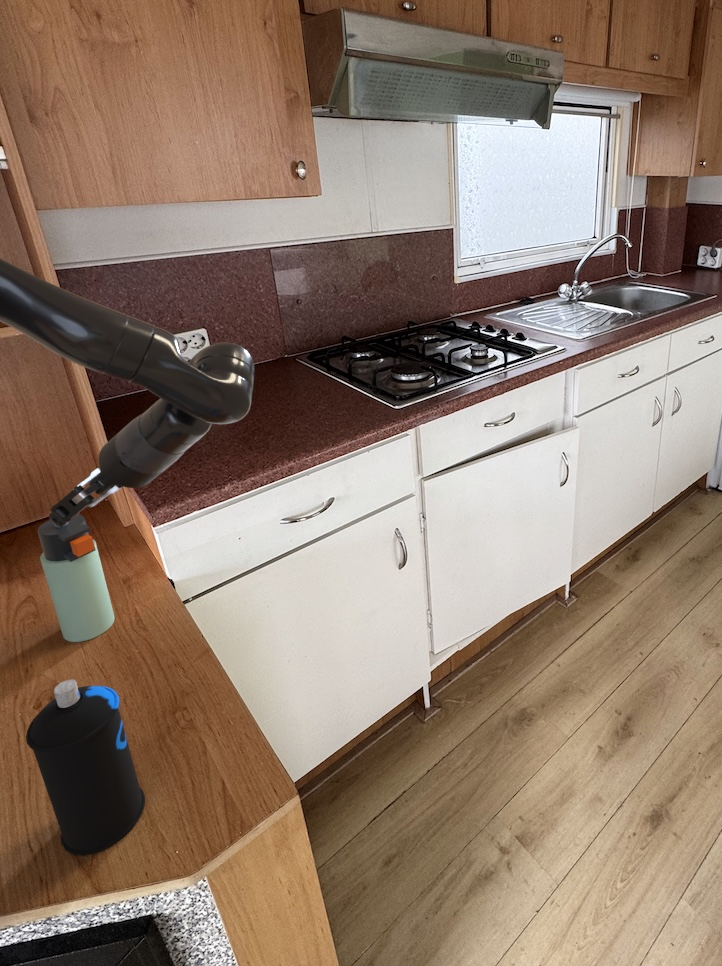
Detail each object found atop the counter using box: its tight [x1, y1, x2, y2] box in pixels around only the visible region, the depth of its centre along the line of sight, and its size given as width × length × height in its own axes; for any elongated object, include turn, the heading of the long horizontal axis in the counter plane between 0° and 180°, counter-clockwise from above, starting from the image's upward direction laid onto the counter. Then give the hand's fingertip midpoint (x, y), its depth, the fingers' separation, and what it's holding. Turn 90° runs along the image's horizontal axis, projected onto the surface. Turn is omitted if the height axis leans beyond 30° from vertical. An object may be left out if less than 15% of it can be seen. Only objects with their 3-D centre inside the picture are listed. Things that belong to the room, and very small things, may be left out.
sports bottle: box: [37, 514, 116, 643], centre depth 93 cm, size 8×7×22 cm
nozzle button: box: [70, 534, 95, 557], centre depth 88 cm, size 2×2×2 cm
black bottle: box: [25, 679, 146, 856], centre depth 64 cm, size 8×8×20 cm
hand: (81, 503), depth 83 cm, fingers open, 8 cm apart
